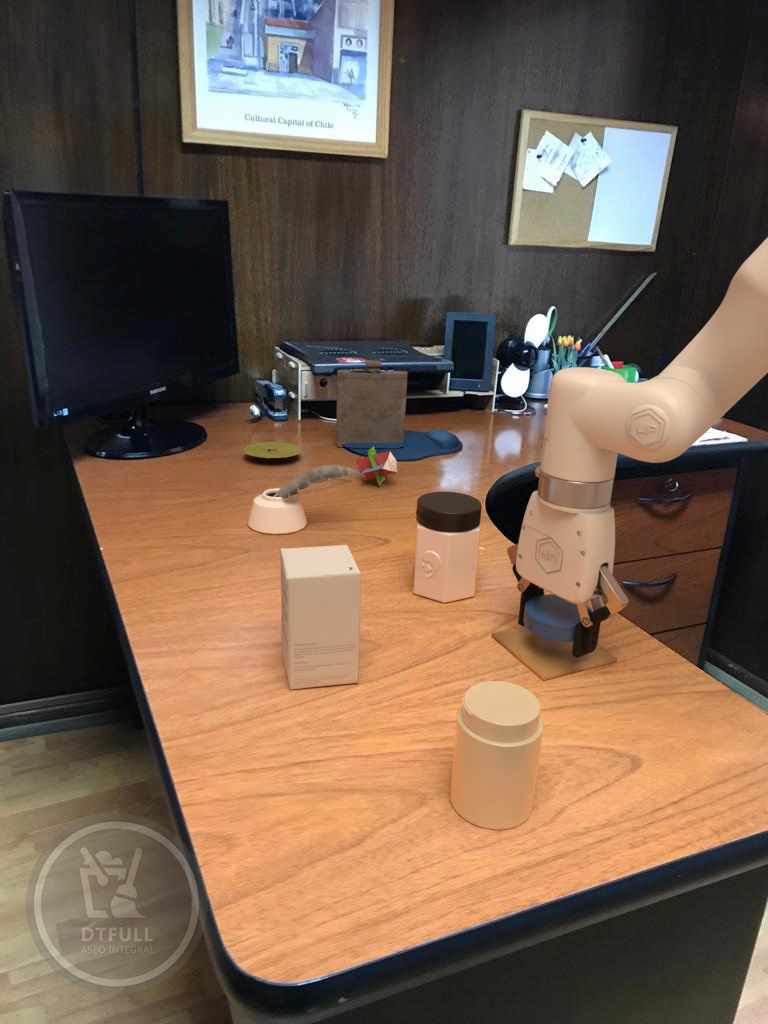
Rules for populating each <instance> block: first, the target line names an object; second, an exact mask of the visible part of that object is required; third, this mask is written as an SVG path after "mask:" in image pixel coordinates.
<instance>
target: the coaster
mask: <svg viewBox="0 0 768 1024" xmlns="http://www.w3.org/2000/svg"><path fill="white" fill-rule="evenodd" d="M490 636H491V638H492V639H494V640H495V641H496V642H497V643H498V644H500V645H501V646H502V647H503V648H504V649H506V650H507V651H508V652H509V653H510V654H512V655H513V656H514V657H515V658H516V659H517V660H519V662H521V663H522V664H523V666H524V665H525V666H526V667H527V669H529V670H530V671H531V672H532V673H534V674H535V675H536V676H537V677H538V678H540V680H542V681H543V682H544V681H547V680H551V679H557V678H560V677H564V676H567V675H571V674H575V673H579V672H584V671H587V670H590V669H594V668H599V667H602V666H606V665H611V664H614V663H617V662H618V658H617V657H616V656H614V654H611V653H610V652H609V651H607V650H606V649H604V648H603V647H602V646H600V645H599V644H597V647H596V649H595V650H594V651H593V652H591V653H588V654H586V655H584V656H581V657H579V658H576V657H575V656H573V654H572V649H573V641H572V642H560V641H552V640H548V639H545V638H542V637H539V636H537V635H535V634H533V633H532V632H530V631H529V630H528V629H527V628H526V627H525V626H519V627H514V628H510V629H505V630H501V631H496V632H492V633H491V635H490Z"/></svg>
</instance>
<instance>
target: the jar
mask: <svg viewBox="0 0 768 1024" xmlns="http://www.w3.org/2000/svg"><path fill="white" fill-rule="evenodd" d="M481 518H482V502H481V500H479V499H478V498H476V497H475V496H472V495H469V494H466V493H462V492H457V491H431V492H428V493H424V494H421V495H420V496H419V497H418V498H417V499H416V509H415V519H416V520H415V535H414V536H415V537H414V551H413V554H414V556H413V569H412V570H413V571H412V592H413V595H417V596H420V597H423V598H426V599H430V600H433V601H436V602H440V603H443V604H445V603H451V602H456V601H459V600H464V599H468V598H469V599H470V598H473V597H474V596H475V593H476V583H477V571H478V560H479V551H480V550H479V549H480V538H481V526H480V525H481Z"/></svg>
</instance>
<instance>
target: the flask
mask: <svg viewBox="0 0 768 1024" xmlns="http://www.w3.org/2000/svg"><path fill="white" fill-rule="evenodd" d="M364 364H365V366H366V367H365V368H351V369H338V370H337V375H336V377H337V378H336V420H335V421H336V425H335V426H336V427H335V445H336V444H337V445H342V444H345V443H397V442H403V441H404V442H405V429H406V428H405V427H406V412H407V411H406V409H407V391H408V389H407V388H408V373H409V372H408V371H404V370H381V367H382V361H381V360H371V359H369V360H365V363H364Z"/></svg>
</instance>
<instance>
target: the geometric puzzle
mask: <svg viewBox="0 0 768 1024" xmlns="http://www.w3.org/2000/svg"><path fill="white" fill-rule="evenodd" d="M376 448H377V446H376ZM378 451H381V449H378ZM365 454H366V455H365ZM363 455H365V456H364V457H363ZM367 455H368V456H367ZM355 461H356V464H357V467H358V471H359V472H361V473H362V474H363V475H364V476H365V477H361V479H362V480H363V479H365V481H366V480H374V479H375V480H376V481H377V485H378V486H379V485H380V482H381V481H382V480H383V479H384V478H386V480H389V479H391V478H392V476H395V475H396V474H398V462H397V459H396V458H395V456H394V454H393V453H392V452H391V450H386V451H382V452H380V453H377V449H375V447H374V445H373V447H371V448H370V449H367V450H366V451H365V452H364V453H362V454H361V455H360V456H359V458H355ZM388 475H390V476H389V477H387V476H388ZM370 483H373V485H376V483H374V482H373V481H370ZM384 483H386V481H384V482H383V484H384ZM380 486H381V485H380Z"/></svg>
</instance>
